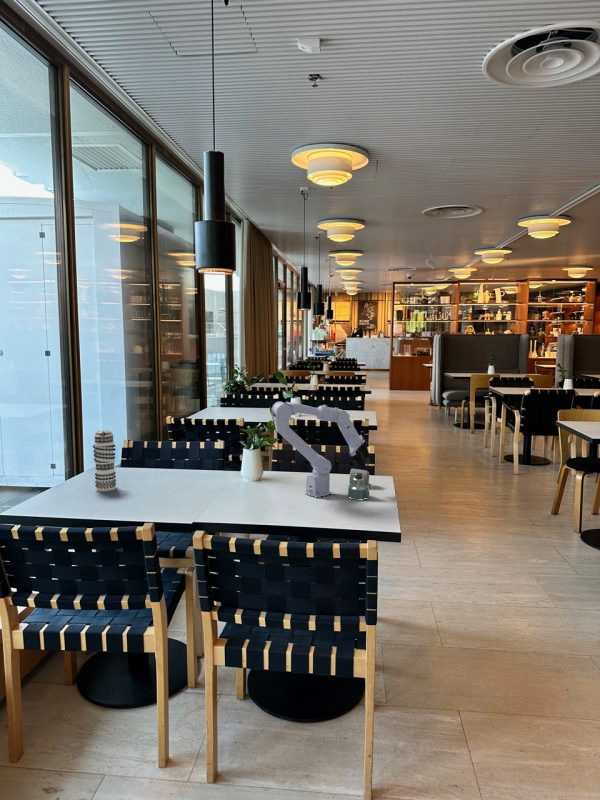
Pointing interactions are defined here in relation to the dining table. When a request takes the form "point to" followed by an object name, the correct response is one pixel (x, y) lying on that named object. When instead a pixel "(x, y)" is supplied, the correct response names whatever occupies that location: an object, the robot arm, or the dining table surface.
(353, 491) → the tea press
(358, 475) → the black and white knob
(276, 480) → the dining table surface
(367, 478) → the ceramic mug
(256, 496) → the dining table surface
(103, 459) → the white tiered cylinder
